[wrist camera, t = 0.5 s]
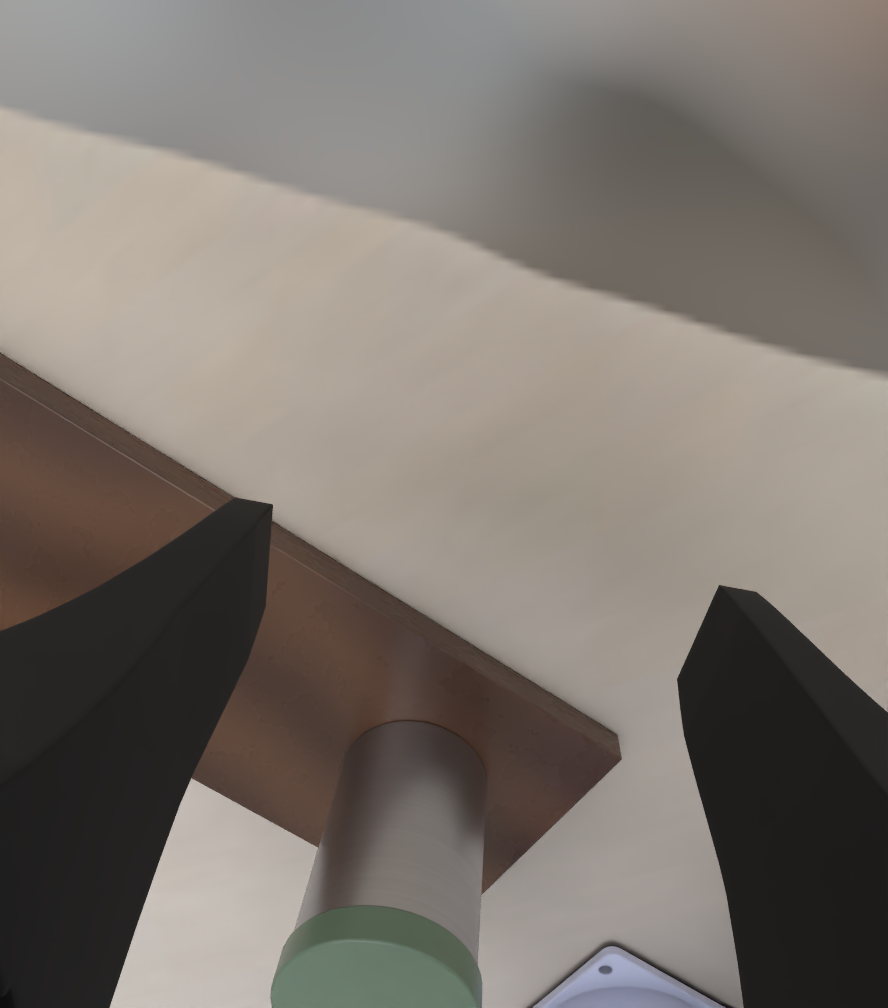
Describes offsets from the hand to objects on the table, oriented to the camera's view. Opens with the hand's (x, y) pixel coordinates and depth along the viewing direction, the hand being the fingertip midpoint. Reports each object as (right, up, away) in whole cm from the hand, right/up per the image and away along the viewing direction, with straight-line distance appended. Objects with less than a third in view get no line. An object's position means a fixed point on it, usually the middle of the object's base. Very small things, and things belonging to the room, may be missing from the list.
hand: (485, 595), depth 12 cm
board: (-7, -4, +14) cm, 16 cm away
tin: (-2, -8, +14) cm, 16 cm away
